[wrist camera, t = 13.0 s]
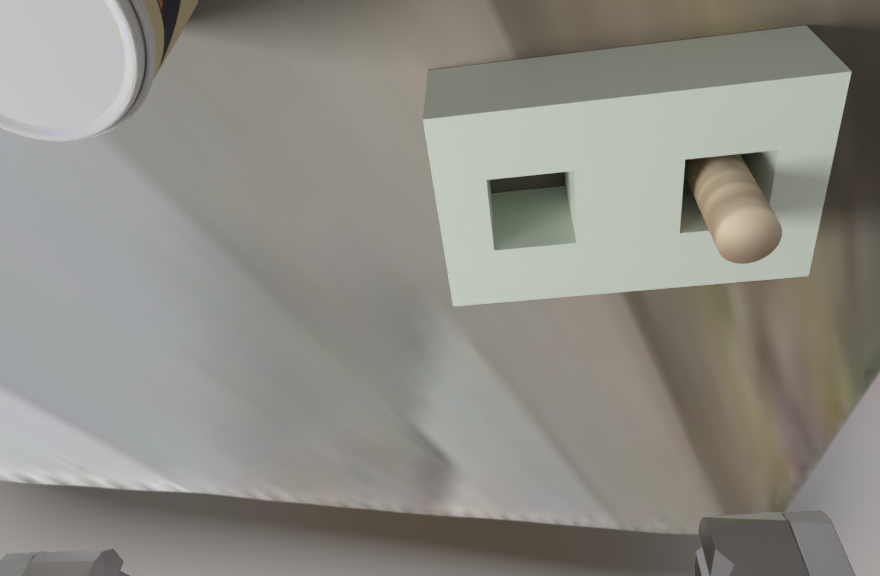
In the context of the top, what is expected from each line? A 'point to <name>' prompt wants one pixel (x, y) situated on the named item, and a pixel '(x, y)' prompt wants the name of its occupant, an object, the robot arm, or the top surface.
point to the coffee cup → (81, 62)
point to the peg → (733, 208)
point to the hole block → (627, 161)
